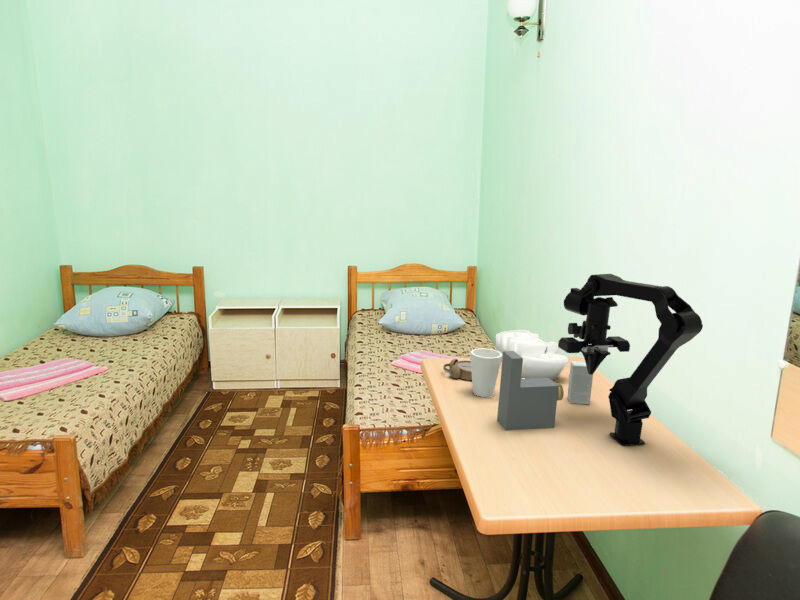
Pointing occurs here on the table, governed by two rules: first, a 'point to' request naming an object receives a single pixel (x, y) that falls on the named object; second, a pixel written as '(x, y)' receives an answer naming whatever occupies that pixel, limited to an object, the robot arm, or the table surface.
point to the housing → (525, 397)
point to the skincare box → (579, 383)
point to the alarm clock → (459, 369)
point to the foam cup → (484, 371)
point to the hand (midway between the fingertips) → (590, 374)
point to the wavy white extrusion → (532, 353)
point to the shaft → (560, 392)
